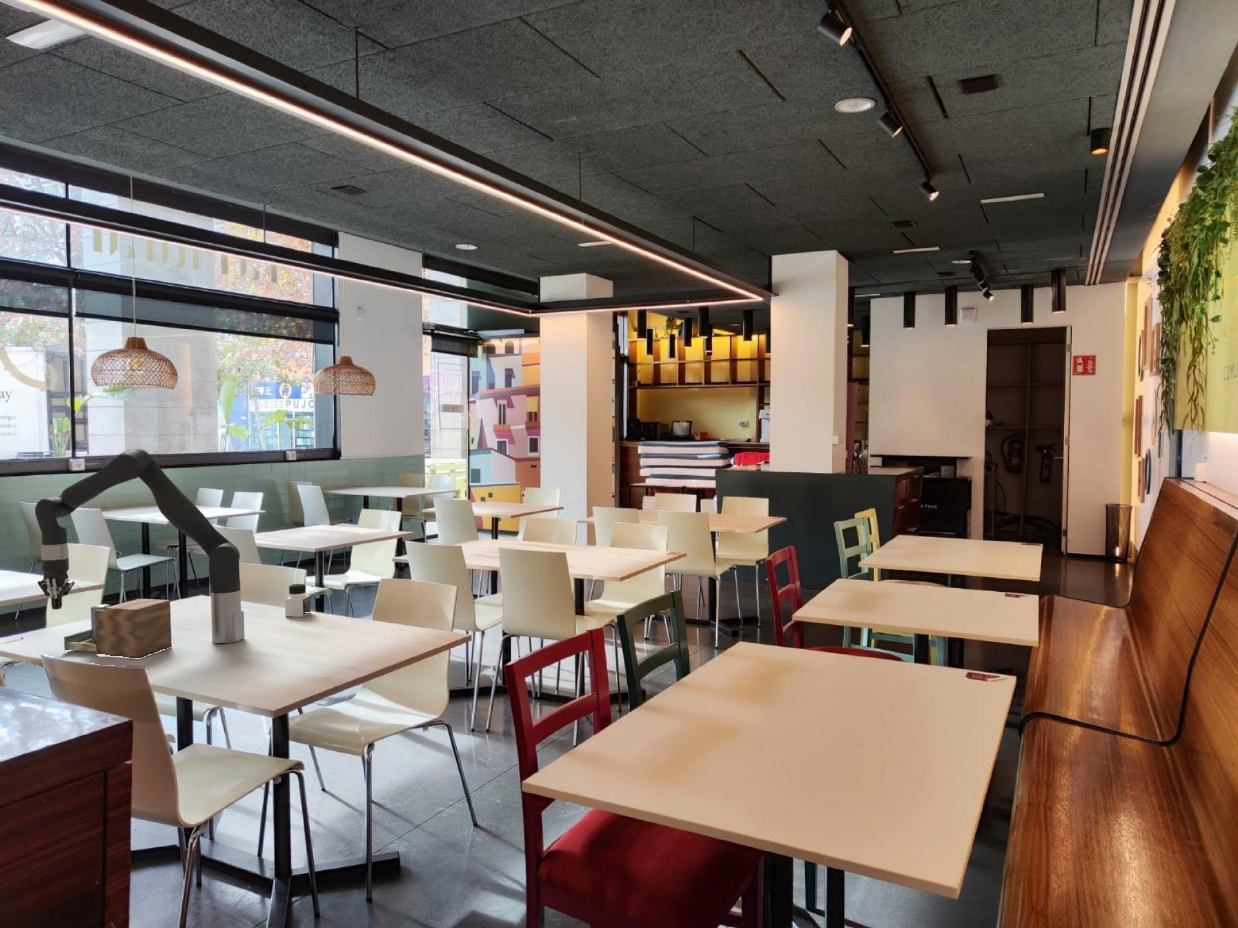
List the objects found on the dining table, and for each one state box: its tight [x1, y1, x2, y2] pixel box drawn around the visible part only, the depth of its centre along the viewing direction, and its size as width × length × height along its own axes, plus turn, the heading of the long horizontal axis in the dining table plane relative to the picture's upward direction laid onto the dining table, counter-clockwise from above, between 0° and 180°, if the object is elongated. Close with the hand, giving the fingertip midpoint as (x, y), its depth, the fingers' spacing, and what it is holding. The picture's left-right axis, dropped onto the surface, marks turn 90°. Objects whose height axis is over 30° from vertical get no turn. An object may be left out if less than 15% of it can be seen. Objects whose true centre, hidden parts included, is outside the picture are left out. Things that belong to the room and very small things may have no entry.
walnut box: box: [95, 598, 173, 659], centre depth 274 cm, size 16×14×16 cm
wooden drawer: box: [63, 628, 96, 652], centre depth 277 cm, size 17×11×5 cm, turn 77°
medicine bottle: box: [284, 583, 311, 617], centre depth 325 cm, size 7×7×12 cm
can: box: [90, 603, 111, 643], centre depth 277 cm, size 5×5×12 cm
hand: (56, 608), depth 280 cm, fingers closed
